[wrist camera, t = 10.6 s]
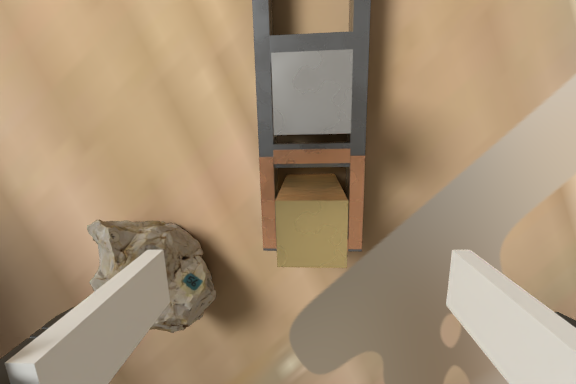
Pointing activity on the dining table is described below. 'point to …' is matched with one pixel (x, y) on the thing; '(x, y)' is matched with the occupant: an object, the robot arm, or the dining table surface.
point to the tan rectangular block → (311, 222)
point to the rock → (178, 260)
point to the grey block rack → (312, 152)
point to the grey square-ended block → (312, 92)
